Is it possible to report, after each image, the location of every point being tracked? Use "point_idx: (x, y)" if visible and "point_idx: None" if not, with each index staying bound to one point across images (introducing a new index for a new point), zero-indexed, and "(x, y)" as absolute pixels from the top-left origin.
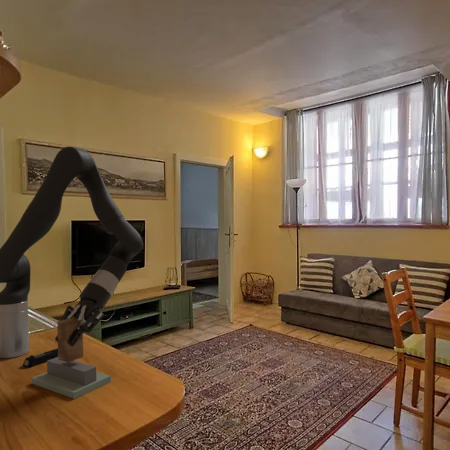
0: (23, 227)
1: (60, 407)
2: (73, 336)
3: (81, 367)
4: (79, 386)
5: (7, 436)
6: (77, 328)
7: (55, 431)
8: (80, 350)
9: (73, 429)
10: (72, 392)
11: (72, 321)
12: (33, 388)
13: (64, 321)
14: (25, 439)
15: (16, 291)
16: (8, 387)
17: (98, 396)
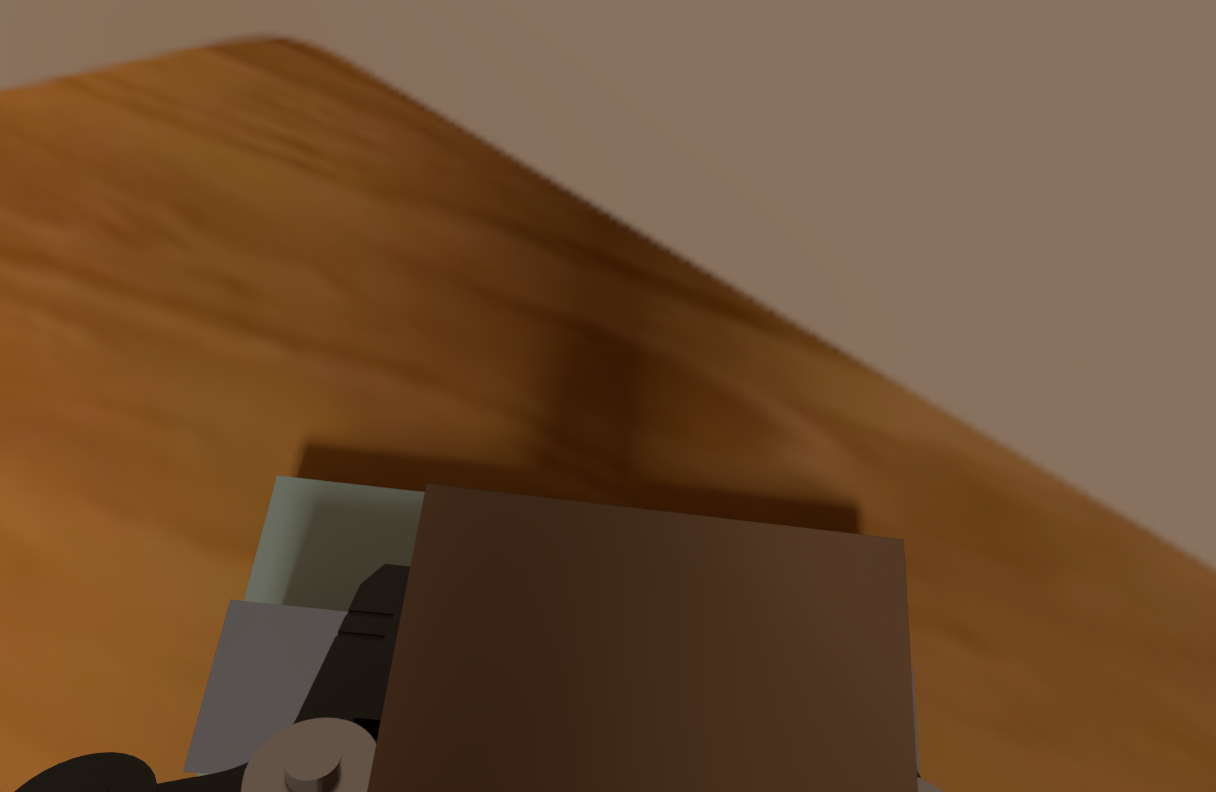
0: None
1: (301, 363)
2: (385, 633)
3: None
4: (317, 580)
5: (346, 71)
6: (305, 734)
7: (112, 167)
8: None
9: (11, 210)
10: (300, 478)
11: (457, 726)
12: (763, 497)
13: (725, 639)
14: (225, 79)
15: None
16: (950, 438)
17: (115, 599)
